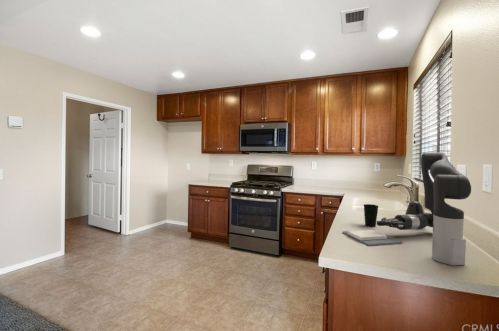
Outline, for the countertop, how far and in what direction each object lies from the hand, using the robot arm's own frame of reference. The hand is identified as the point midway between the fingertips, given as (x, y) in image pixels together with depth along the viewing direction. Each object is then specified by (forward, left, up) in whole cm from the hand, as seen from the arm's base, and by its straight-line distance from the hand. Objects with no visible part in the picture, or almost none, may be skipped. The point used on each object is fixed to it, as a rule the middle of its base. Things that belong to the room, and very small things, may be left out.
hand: (377, 223), depth 125 cm
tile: (0, -1, -5) cm, 5 cm away
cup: (+20, -12, -7) cm, 24 cm away
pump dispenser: (+13, -36, -7) cm, 39 cm away
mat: (0, +4, -7) cm, 8 cm away
